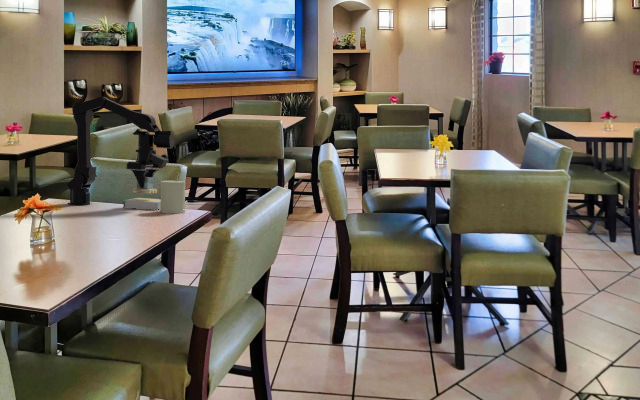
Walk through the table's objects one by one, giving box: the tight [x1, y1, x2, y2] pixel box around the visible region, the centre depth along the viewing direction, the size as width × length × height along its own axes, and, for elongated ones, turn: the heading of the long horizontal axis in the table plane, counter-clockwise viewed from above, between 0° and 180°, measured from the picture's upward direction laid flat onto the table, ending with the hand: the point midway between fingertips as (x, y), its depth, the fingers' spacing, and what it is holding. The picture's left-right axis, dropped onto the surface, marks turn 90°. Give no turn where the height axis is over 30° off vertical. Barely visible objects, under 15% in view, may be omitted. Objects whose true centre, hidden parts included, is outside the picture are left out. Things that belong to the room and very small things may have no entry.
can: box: [159, 179, 186, 215], centre depth 222 cm, size 9×9×12 cm
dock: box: [123, 197, 161, 211], centre depth 232 cm, size 14×11×3 cm
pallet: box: [132, 176, 158, 195], centre depth 231 cm, size 7×6×6 cm
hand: (145, 187), depth 232 cm, fingers closed on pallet, 4 cm apart
